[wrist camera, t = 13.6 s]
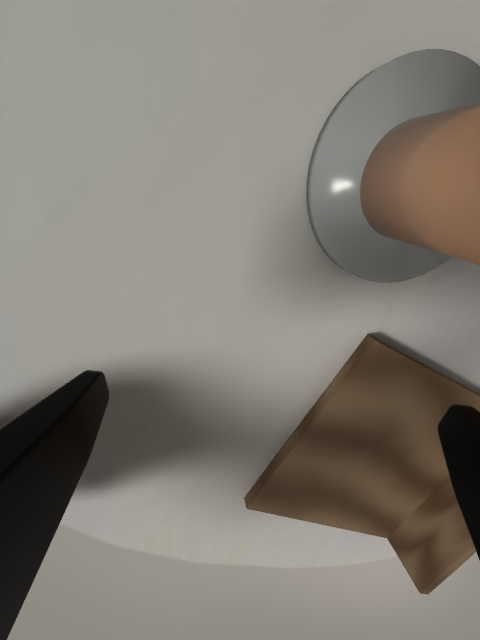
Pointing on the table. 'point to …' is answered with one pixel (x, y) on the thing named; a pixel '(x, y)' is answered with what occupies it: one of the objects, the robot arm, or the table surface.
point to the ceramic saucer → (356, 146)
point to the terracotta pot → (428, 183)
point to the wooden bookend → (377, 462)
